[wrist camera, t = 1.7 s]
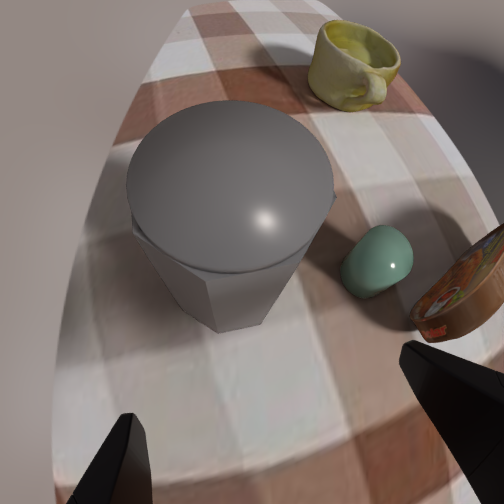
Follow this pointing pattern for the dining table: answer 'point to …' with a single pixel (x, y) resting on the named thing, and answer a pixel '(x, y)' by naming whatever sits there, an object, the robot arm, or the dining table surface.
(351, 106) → the mug
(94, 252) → the dining table surface
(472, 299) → the tin
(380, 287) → the pale green rounded part
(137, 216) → the grey domed canister
